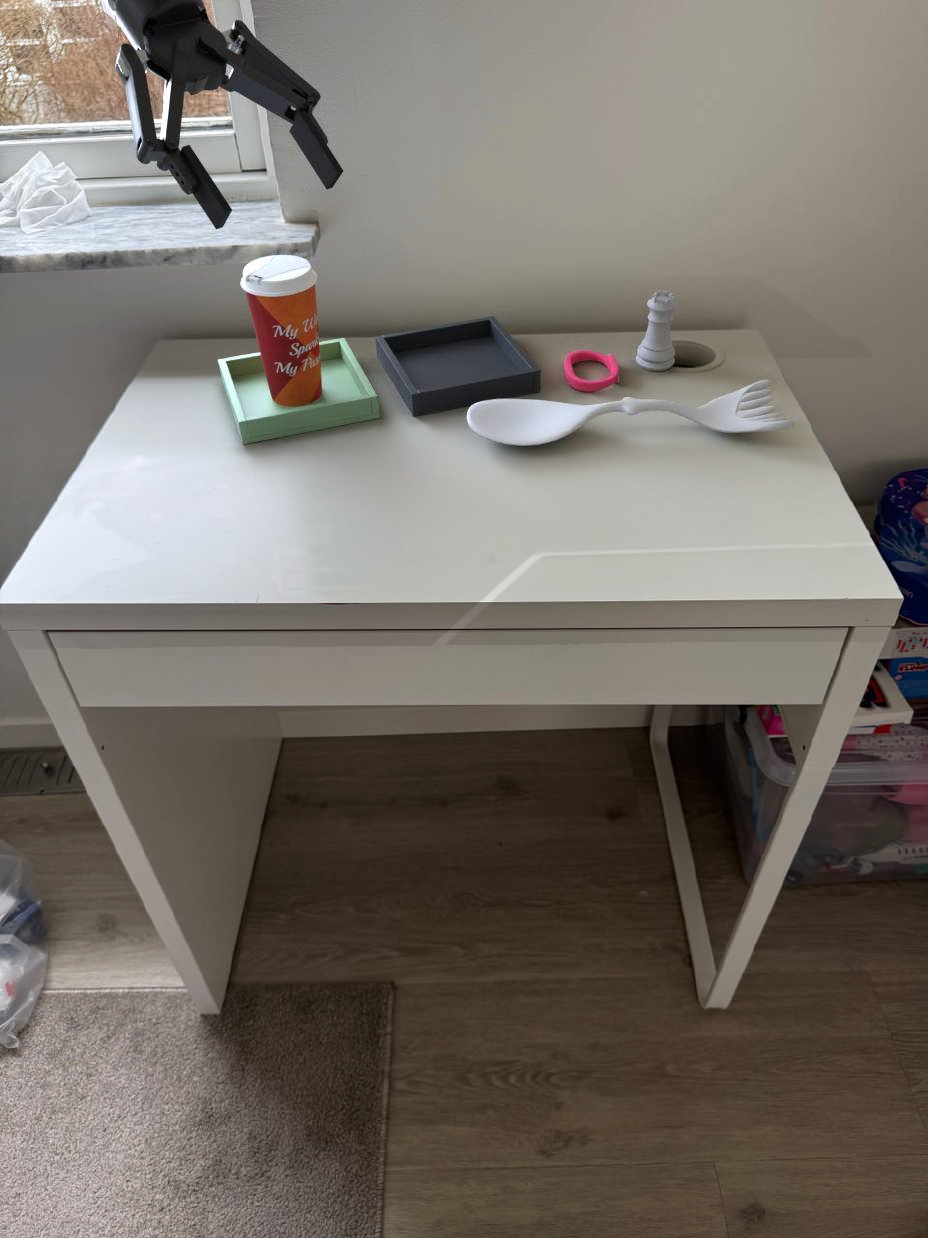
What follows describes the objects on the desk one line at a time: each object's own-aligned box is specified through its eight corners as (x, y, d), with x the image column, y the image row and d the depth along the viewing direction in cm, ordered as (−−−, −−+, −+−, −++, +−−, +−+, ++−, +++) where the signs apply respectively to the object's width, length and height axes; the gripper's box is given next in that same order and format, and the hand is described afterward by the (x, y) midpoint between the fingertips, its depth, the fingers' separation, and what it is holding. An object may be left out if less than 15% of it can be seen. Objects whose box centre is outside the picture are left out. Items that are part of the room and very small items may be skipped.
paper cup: (297, 418, 99) (276, 289, 90) (246, 397, 103) (222, 271, 94) (347, 388, 104) (332, 262, 95) (297, 369, 108) (278, 246, 98)
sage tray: (242, 444, 97) (238, 422, 95) (222, 380, 107) (217, 359, 106) (379, 417, 100) (377, 395, 99) (346, 358, 111) (344, 337, 109)
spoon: (789, 449, 94) (796, 419, 92) (468, 460, 94) (467, 429, 92) (765, 404, 101) (771, 374, 98) (466, 413, 101) (465, 384, 98)
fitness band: (623, 392, 103) (624, 379, 102) (569, 394, 103) (570, 382, 102) (610, 357, 109) (611, 345, 108) (560, 360, 109) (560, 347, 108)
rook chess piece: (680, 359, 109) (690, 292, 103) (665, 376, 106) (674, 307, 100) (644, 351, 110) (652, 284, 105) (628, 366, 108) (635, 298, 102)
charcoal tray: (413, 416, 101) (411, 394, 99) (377, 356, 111) (375, 336, 109) (540, 391, 104) (540, 370, 102) (493, 336, 114) (493, 315, 112)
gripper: (242, 2, 96) (360, 188, 98) (16, 47, 82) (160, 261, 84) (268, -58, 89) (393, 141, 92) (28, -21, 76) (183, 213, 78)
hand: (282, 199), depth 88 cm, fingers open, 13 cm apart
